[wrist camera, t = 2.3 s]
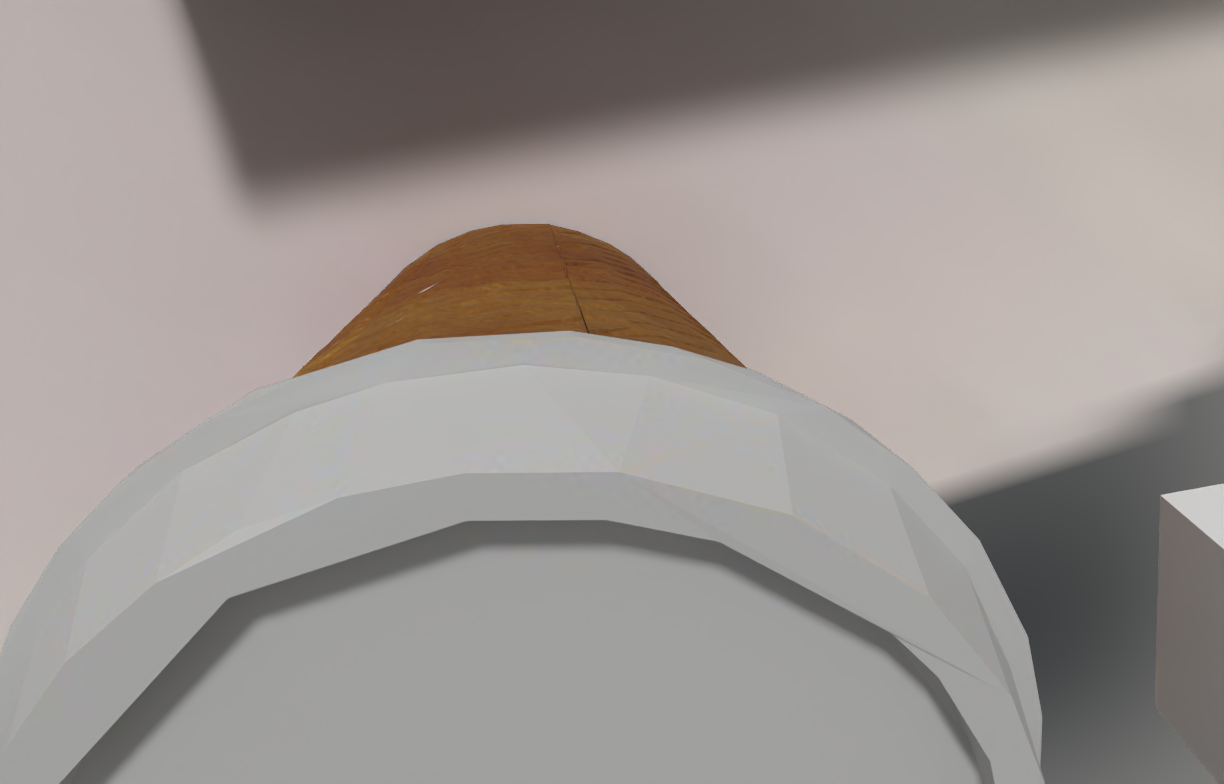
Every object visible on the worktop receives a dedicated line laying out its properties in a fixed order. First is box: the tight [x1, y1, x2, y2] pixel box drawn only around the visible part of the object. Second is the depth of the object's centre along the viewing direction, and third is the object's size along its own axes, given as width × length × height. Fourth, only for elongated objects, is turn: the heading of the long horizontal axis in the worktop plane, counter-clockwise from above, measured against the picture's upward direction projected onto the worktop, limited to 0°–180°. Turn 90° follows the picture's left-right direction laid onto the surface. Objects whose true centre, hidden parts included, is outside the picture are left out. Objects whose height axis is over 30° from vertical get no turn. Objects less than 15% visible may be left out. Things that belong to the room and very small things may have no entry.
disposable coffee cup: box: [0, 224, 1045, 784], centre depth 14 cm, size 10×10×12 cm
